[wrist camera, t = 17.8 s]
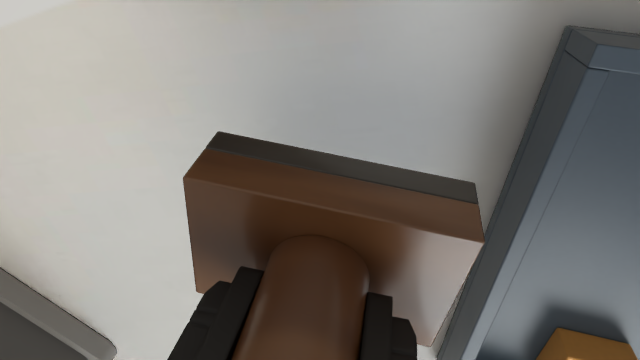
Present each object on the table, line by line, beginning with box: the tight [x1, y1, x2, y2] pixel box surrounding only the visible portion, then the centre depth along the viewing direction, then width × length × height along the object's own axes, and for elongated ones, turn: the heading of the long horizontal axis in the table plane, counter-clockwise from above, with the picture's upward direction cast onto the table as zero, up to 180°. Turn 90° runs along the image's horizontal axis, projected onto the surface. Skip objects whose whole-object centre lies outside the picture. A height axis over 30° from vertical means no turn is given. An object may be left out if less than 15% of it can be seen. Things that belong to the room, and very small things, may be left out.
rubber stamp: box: [183, 131, 485, 360], centre depth 11 cm, size 5×8×8 cm, turn 83°
